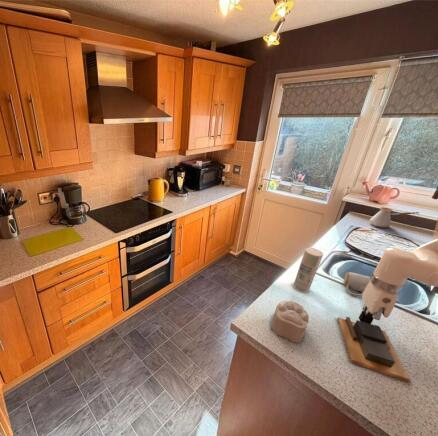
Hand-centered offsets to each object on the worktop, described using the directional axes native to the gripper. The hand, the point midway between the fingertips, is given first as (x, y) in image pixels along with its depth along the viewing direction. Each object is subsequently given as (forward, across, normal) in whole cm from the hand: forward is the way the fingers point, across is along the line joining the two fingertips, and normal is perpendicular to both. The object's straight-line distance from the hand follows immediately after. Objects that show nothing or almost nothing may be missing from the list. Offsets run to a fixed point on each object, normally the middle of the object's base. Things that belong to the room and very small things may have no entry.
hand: (364, 321), depth 86 cm
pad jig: (+4, -8, 0) cm, 9 cm away
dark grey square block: (+3, -6, 0) cm, 6 cm away
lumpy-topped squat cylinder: (+4, -11, +25) cm, 28 cm away
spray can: (+4, +16, +18) cm, 24 cm away
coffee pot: (+4, +115, -46) cm, 124 cm away
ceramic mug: (+4, +25, -4) cm, 26 cm away
